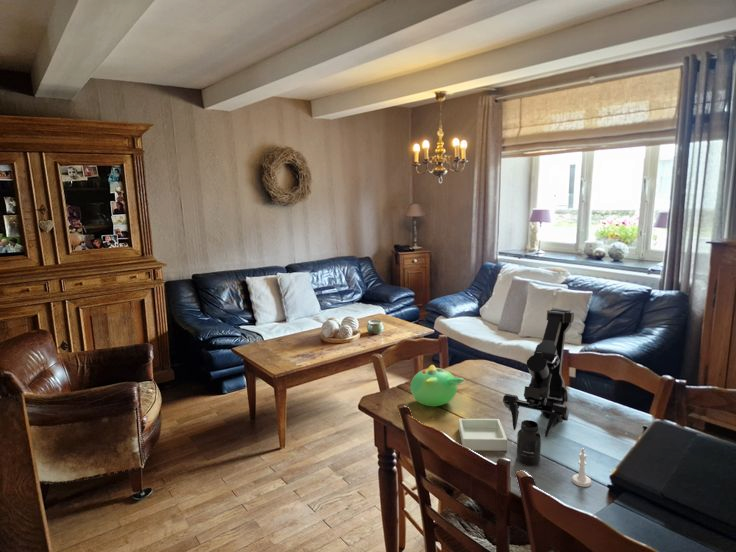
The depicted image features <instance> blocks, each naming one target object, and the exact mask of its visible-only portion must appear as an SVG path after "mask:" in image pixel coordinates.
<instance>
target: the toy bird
mask: <svg viewBox="0 0 736 552" xmlns="http://www.w3.org/2000/svg"><path fill="white" fill-rule="evenodd" d="M463 382H465V379H464V378H461V377H455V376H454V375H453V374H452V373H451V372H450V371H448V370H446V369H444V368H440V367H436V366H435V365H434V364H431V365H429V366H428V367H427V368H424V369H422V370H420V371H418V372H417V373H416V374H415V375H414V376H413V377H412V380H411V381H410V391H411V394H412V397H413V398H414V399H415V400H416V401H417V402H418V403H420V404H421V405H424V406H427V407H441V406H444V405H446V404H448V403H450V402H451V401H452V400H453V399H454V398H455V395H456V394H457V390H458V385H460V384H462V383H463Z"/></svg>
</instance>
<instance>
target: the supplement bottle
mask: <svg viewBox="0 0 736 552" xmlns="http://www.w3.org/2000/svg"><path fill="white" fill-rule="evenodd" d="M520 425H521V426H520V429H519V430H518V431H517V435H516V454H515V455H516V457H515V459H516V460H517V462H518V463H520V464H522V465H524V466H528V467H534V466H535V467H536V466H537V465H539V464H540V462H541V450H542V435H541V433H540V432H539V424H538V422H536V421H534V420H530V419H524V420H523V421H521V423H520Z"/></svg>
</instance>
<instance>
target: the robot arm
mask: <svg viewBox="0 0 736 552" xmlns="http://www.w3.org/2000/svg"><path fill="white" fill-rule="evenodd" d="M574 319H575V313H574V312H572V311H571V309H570V308H559V307H552V308H551V309H548V310H547V311H546V321H547V322H546V323H547V324H546V327H545V329H544V334H543V338H542V341H541V342H540V343H538V344H537V345H536V347H535V350H534V351H532V353H531V354H530V355H531V356H530V357H528V358H527V360H526V366H527V368H528V372H529V375H530V376H531V377H530V383H529V385H528V386H526V385H525V386H524V391H523V397H524V400H522V399H521V400H520V399H519V397H518V395H516V394H510V393H506V394H504V395H503V397H502V402H503V404H504V406H505V408H507V409H508V411H509V412H511V419H512V429H513V431H516V430H517V426H518V418H519V408H520V407H522V408H526V409H530V410H535V411H540V412H541V413H542V414H543V415H544V418H545V419H548V423H547V425H546V428H545V433H544V438H545V439H547V438H548V437H549V436H550V434H551V433H552V432H553V430H554V428H555V427H556V426H557V425H558V424H559V423H563V422H564V421H565V422H566V421H567V422H568V421H569V416H570V414H569V413H570V412H569V409H568V406H567V405H565V403H566V402H568V399H569V397H568V394H569V393H568V391H567V386H566V383H565V380H564V377H563V376H562V368H563V367H562V366H563V357H564V349H565V340H566V334H567V332H568V331H569V330H570V329H571V327H572V323H573V322H574Z"/></svg>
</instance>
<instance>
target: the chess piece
mask: <svg viewBox="0 0 736 552" xmlns="http://www.w3.org/2000/svg"><path fill="white" fill-rule="evenodd" d="M580 451H581V452H580V453H578V457H579V460H578V464H579V465H580V466H579V470H578V473H576V474H573V475H572V477H571V481H572V482H573V483H574V484H575V485H577V486H578V487H579V486H580V487H583V488H585V487H586V488H587V487H590V486H591V485H592V479H591V478H590V477H589V476H587V475H586V471H585V466H587V462H586V459H587V457H588V455H587V454H586V450H585V448H584V447H581V448H580Z"/></svg>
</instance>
